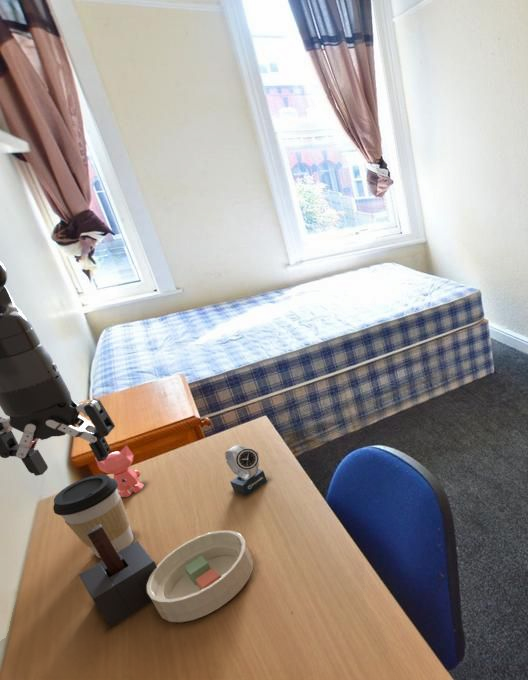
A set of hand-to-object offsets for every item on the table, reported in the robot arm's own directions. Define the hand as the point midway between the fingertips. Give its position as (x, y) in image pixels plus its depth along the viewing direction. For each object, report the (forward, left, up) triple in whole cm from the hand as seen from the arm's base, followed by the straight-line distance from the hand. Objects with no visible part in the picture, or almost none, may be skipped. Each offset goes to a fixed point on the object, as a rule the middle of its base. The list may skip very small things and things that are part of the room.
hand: (73, 465), depth 77 cm
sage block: (+7, -10, -26) cm, 29 cm away
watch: (+25, +9, -27) cm, 38 cm away
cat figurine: (+8, +34, -27) cm, 44 cm away
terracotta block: (+7, -15, -26) cm, 31 cm away
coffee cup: (0, +16, -27) cm, 31 cm away
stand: (-2, -2, -27) cm, 27 cm away
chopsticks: (-2, -2, -27) cm, 27 cm away
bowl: (+7, -12, -27) cm, 31 cm away
